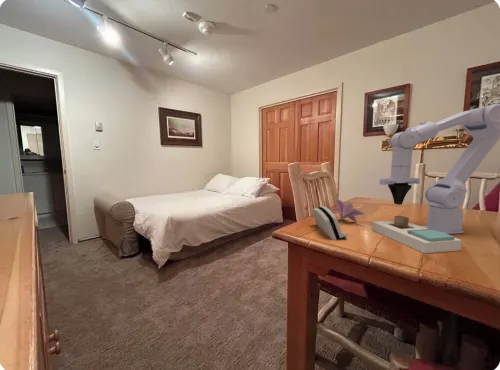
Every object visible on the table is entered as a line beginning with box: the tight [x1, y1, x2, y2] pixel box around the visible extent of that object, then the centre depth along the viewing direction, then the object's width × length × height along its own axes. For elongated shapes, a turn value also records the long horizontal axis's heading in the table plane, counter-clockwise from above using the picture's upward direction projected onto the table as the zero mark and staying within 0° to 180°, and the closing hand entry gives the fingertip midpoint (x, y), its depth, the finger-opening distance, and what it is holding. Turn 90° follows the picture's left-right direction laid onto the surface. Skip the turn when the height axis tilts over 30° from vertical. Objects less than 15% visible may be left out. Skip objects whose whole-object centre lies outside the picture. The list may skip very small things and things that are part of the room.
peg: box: [393, 215, 410, 229], centre depth 73 cm, size 4×4×6 cm
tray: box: [371, 220, 463, 254], centre depth 69 cm, size 12×20×3 cm, turn 9°
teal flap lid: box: [407, 229, 456, 241], centre depth 63 cm, size 8×1×7 cm
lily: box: [330, 198, 365, 225], centre depth 87 cm, size 12×12×10 cm
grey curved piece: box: [311, 205, 349, 241], centre depth 77 cm, size 17×5×10 cm, turn 1°
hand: (398, 204), depth 78 cm, fingers closed
